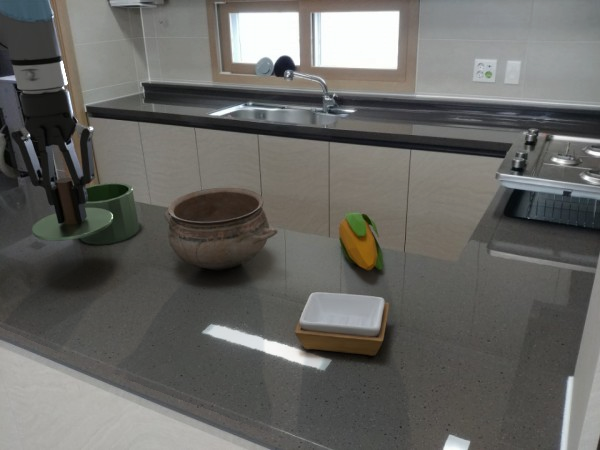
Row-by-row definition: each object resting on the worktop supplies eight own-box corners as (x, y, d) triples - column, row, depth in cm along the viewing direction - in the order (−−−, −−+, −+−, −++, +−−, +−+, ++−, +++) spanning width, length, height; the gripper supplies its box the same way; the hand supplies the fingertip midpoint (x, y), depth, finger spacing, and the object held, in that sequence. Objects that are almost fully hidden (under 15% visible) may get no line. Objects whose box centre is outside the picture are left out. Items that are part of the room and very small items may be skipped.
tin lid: (16, 235, 96) (3, 187, 92) (77, 209, 107) (68, 164, 103) (70, 249, 90) (58, 198, 86) (129, 219, 101) (121, 173, 97)
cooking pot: (302, 253, 106) (300, 195, 101) (250, 299, 91) (244, 234, 86) (201, 233, 117) (194, 180, 112) (139, 271, 102) (129, 211, 97)
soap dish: (388, 323, 83) (389, 295, 81) (382, 363, 74) (383, 332, 72) (309, 315, 85) (308, 288, 83) (295, 353, 77) (293, 323, 75)
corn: (369, 201, 109) (392, 242, 91) (371, 234, 112) (394, 281, 94) (333, 205, 109) (349, 248, 91) (336, 239, 112) (352, 287, 94)
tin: (67, 238, 117) (57, 198, 113) (110, 218, 127) (102, 180, 123) (109, 248, 112) (100, 206, 108) (151, 226, 122) (144, 186, 118)
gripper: (-17, 95, 85) (19, 230, 94) (84, 91, 85) (110, 226, 95) (5, 87, 92) (37, 214, 101) (98, 83, 92) (121, 210, 102)
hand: (72, 219), depth 98 cm, fingers closed on tin lid, 3 cm apart
